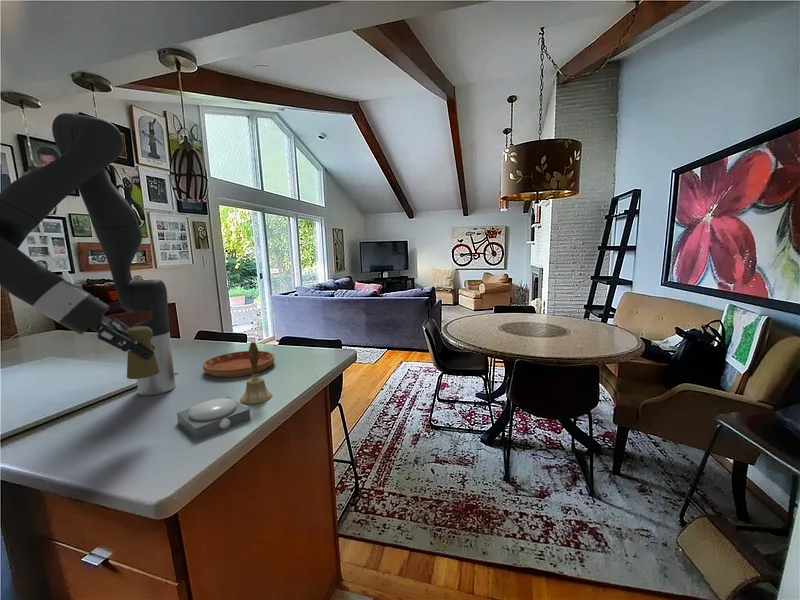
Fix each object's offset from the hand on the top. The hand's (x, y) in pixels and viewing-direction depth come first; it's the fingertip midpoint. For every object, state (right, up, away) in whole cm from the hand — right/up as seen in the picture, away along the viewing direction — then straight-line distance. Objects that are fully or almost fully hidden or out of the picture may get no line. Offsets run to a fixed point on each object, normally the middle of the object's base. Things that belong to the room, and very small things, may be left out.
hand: (151, 353), depth 80 cm
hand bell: (+17, -15, +17) cm, 29 cm away
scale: (+12, -17, +4) cm, 21 cm away
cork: (-2, -5, 0) cm, 5 cm away
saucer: (0, -12, +44) cm, 45 cm away
